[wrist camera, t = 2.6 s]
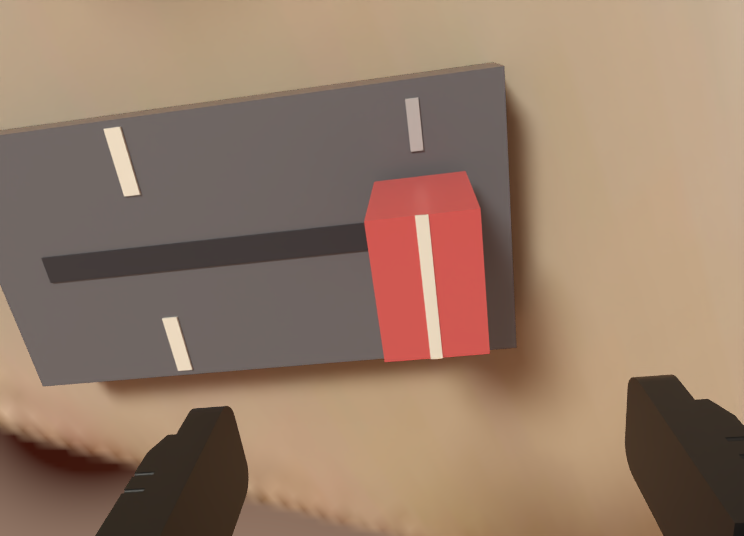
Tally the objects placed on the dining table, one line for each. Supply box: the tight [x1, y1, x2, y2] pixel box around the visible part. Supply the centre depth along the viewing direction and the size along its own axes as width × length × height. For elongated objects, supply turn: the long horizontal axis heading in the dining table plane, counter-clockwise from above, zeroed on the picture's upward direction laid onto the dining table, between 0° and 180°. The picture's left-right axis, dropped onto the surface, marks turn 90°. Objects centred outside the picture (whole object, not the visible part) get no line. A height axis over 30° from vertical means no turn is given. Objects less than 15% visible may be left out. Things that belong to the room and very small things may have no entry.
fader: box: [364, 171, 490, 362], centre depth 20 cm, size 4×5×6 cm
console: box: [0, 62, 517, 386], centre depth 25 cm, size 23×12×3 cm, turn 98°
